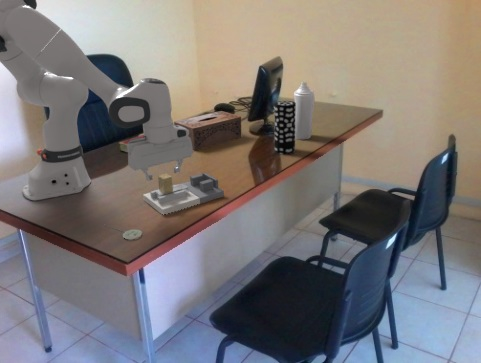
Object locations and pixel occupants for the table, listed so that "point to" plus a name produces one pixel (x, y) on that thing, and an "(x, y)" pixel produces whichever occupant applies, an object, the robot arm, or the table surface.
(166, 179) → the bolt
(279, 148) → the white-spotted black cylinder
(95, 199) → the table surface
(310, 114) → the spray can
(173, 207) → the plate
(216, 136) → the tissue box cover
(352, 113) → the table surface
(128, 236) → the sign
